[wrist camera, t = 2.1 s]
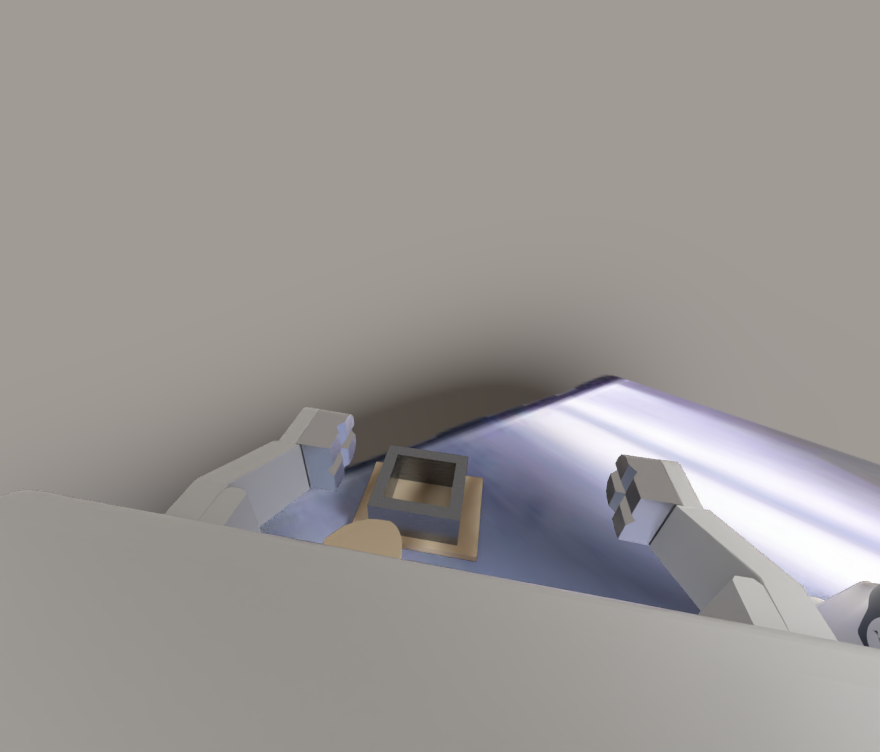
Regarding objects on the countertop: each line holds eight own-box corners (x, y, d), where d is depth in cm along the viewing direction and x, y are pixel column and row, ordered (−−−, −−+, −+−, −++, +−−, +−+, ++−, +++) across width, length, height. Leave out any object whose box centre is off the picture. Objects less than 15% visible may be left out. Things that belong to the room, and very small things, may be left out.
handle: (338, 614, 39) (318, 531, 30) (397, 595, 41) (394, 512, 32) (343, 667, 35) (322, 589, 27) (408, 643, 37) (408, 564, 28)
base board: (482, 482, 54) (483, 478, 53) (476, 561, 44) (476, 557, 44) (377, 466, 56) (376, 461, 55) (348, 538, 46) (347, 533, 45)
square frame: (465, 481, 53) (468, 456, 50) (457, 545, 45) (460, 520, 42) (391, 469, 54) (390, 444, 51) (369, 530, 46) (367, 505, 43)
